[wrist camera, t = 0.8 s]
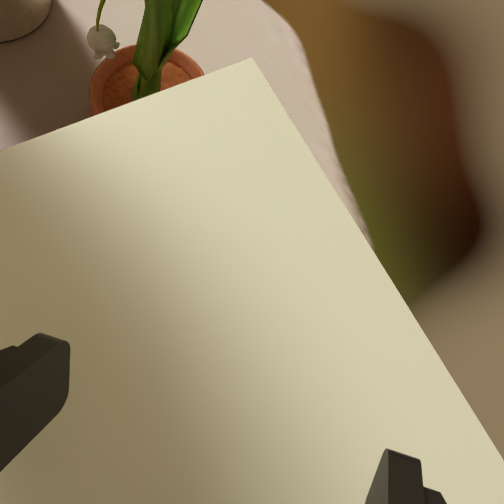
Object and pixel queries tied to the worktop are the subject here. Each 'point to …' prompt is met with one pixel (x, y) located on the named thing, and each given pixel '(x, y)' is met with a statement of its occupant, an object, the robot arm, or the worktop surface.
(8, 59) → the worktop surface
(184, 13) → the potted flower
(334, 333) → the wooden cabinet
